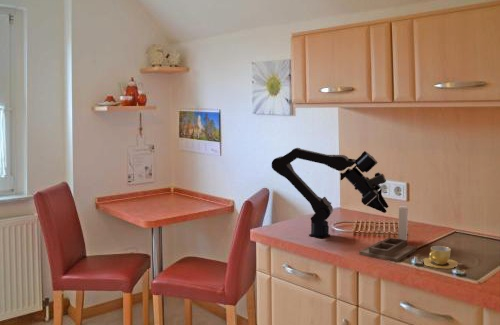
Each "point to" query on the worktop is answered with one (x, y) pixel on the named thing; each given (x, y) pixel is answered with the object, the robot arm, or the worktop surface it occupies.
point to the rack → (389, 249)
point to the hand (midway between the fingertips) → (386, 209)
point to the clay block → (403, 222)
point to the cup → (440, 257)
